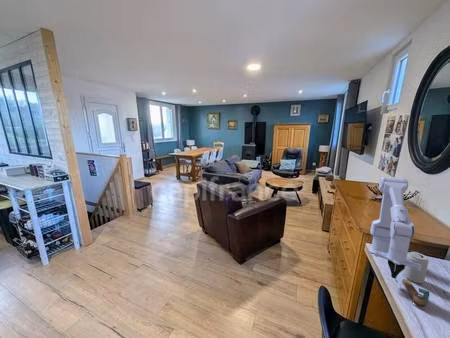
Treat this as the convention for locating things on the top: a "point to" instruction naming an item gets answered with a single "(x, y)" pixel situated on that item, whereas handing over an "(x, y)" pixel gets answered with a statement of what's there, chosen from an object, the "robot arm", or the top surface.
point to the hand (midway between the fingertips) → (393, 276)
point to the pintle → (415, 304)
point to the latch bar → (414, 293)
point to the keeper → (425, 294)
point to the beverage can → (414, 273)
